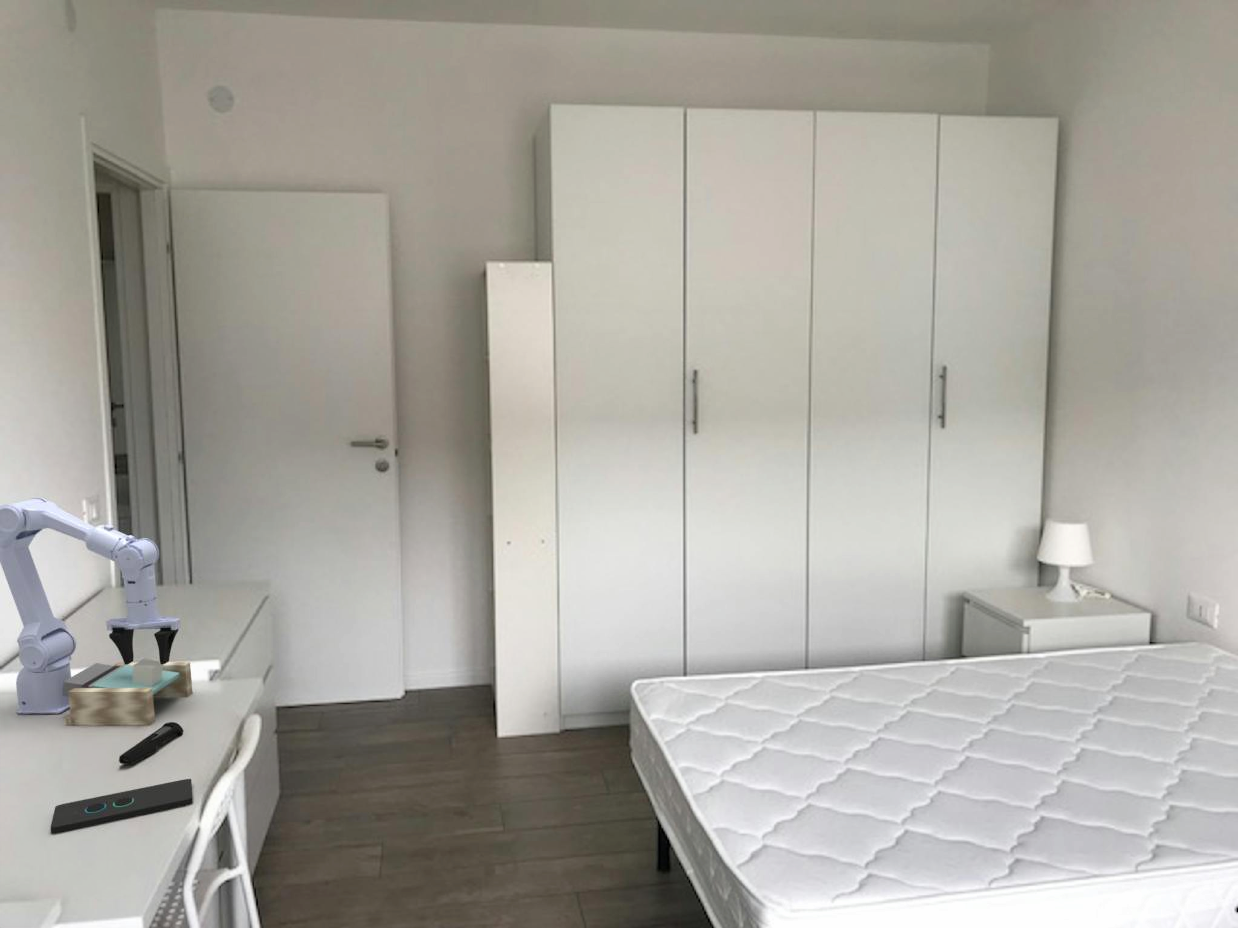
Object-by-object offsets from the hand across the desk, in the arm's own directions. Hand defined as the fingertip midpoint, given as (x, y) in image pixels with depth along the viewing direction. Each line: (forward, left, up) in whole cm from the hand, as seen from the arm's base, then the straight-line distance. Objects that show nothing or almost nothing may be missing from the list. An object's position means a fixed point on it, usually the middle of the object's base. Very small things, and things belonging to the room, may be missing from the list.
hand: (146, 662), depth 189 cm
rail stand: (-4, 0, -10) cm, 11 cm away
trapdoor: (-6, 0, -6) cm, 9 cm away
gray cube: (0, 0, -4) cm, 4 cm away
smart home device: (+19, -41, -11) cm, 47 cm away
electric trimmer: (+11, -19, -10) cm, 25 cm away
